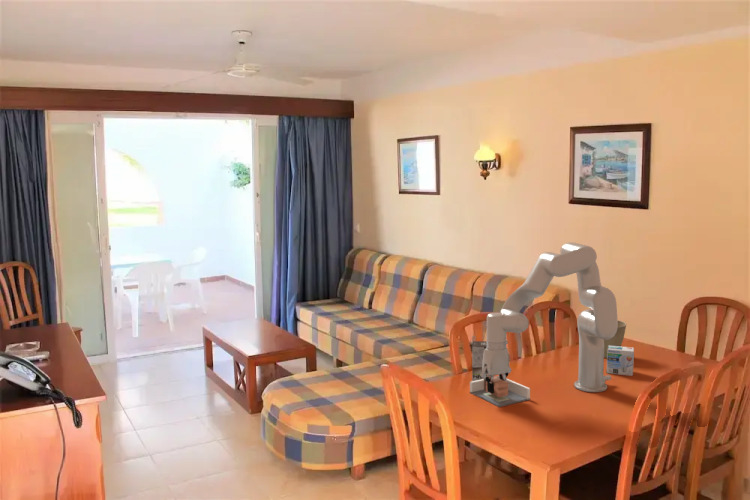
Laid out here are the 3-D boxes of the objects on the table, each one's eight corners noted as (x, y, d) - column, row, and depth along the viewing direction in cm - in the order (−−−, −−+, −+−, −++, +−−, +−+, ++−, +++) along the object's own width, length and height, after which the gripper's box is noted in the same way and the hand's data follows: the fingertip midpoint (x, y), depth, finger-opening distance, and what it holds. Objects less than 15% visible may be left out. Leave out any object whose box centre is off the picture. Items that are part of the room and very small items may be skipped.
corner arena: (499, 386, 262) (499, 375, 262) (529, 399, 247) (530, 388, 246) (469, 392, 255) (469, 381, 255) (499, 407, 240) (499, 395, 239)
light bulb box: (606, 373, 276) (607, 349, 274) (607, 368, 282) (607, 344, 281) (633, 376, 272) (634, 351, 270) (633, 371, 278) (634, 347, 277)
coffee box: (487, 385, 264) (487, 346, 262) (471, 384, 265) (471, 346, 263) (488, 378, 273) (488, 340, 271) (472, 377, 274) (472, 340, 272)
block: (508, 395, 246) (508, 382, 245) (498, 397, 244) (498, 384, 243) (493, 388, 254) (493, 376, 253) (484, 390, 252) (484, 378, 251)
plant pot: (588, 351, 308) (589, 318, 306) (620, 352, 306) (621, 319, 304) (594, 360, 294) (595, 326, 292) (628, 361, 292) (629, 327, 290)
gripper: (507, 339, 254) (506, 384, 256) (472, 346, 246) (472, 392, 248) (520, 344, 247) (519, 390, 249) (484, 350, 239) (484, 398, 241)
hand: (496, 390), depth 249 cm, fingers closed on block, 4 cm apart
